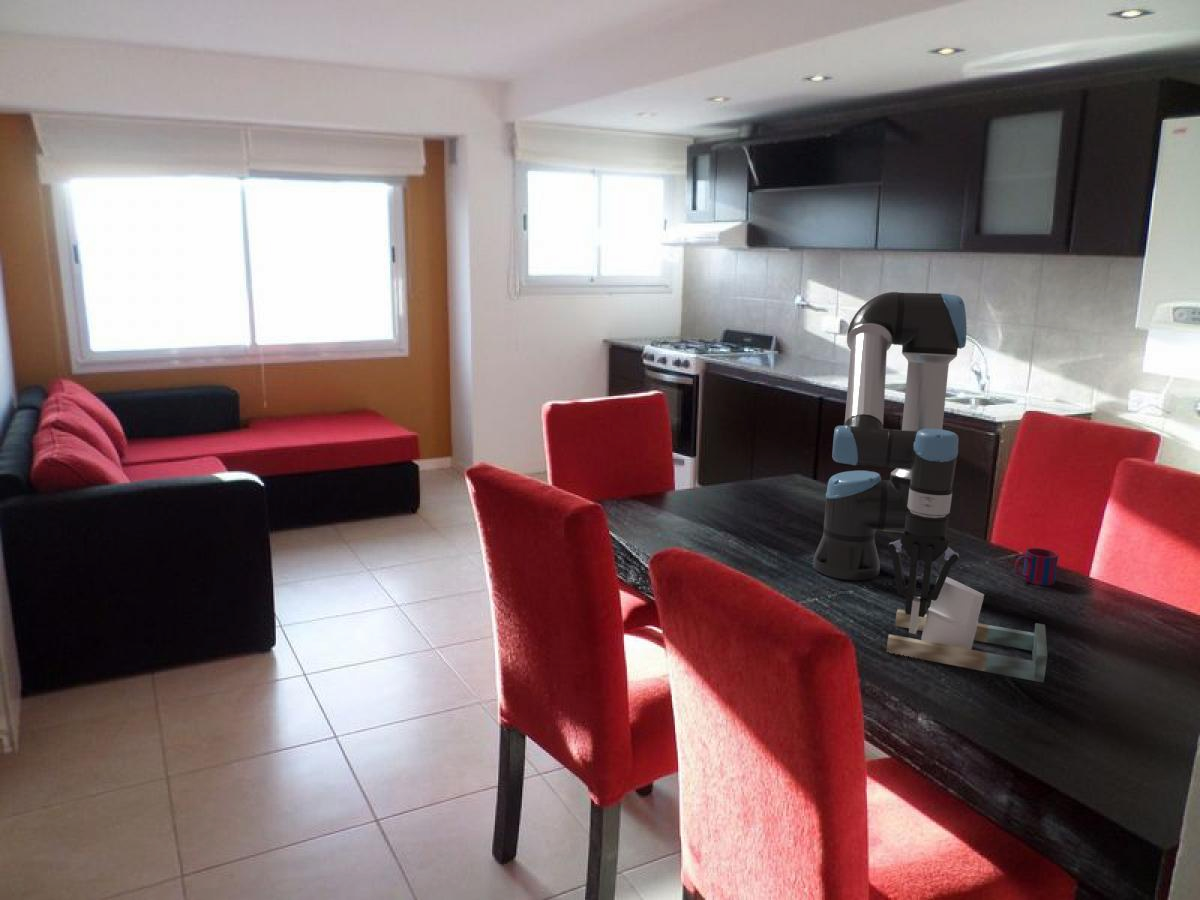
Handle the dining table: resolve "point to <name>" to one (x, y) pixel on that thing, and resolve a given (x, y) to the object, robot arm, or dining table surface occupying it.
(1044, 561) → the mug
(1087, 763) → the dining table surface
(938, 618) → the cylinder with rectangular tab
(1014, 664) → the bay
